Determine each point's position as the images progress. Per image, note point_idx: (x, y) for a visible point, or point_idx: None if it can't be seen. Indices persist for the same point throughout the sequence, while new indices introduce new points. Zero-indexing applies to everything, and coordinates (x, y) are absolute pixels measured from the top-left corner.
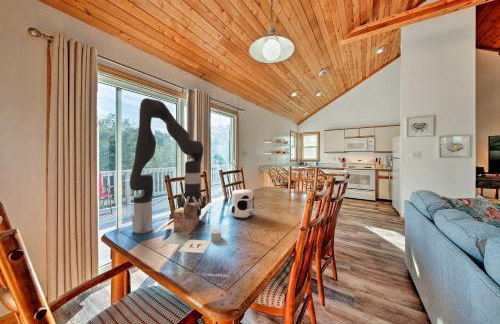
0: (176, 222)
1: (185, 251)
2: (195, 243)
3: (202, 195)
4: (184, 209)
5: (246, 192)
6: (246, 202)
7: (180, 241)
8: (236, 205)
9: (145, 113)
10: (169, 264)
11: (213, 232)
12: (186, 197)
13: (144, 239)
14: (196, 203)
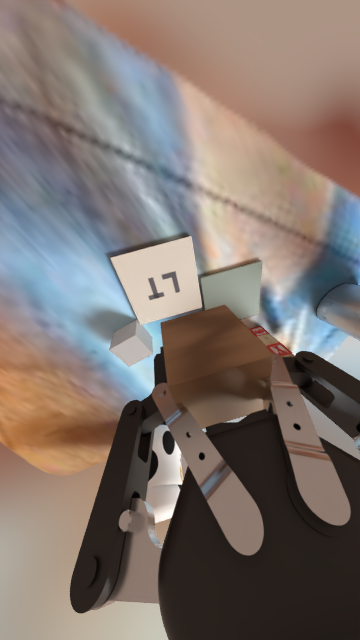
0: (270, 343)
1: (168, 243)
2: (171, 296)
3: (144, 597)
4: None
5: None
6: None
7: (217, 289)
8: (159, 458)
9: None
10: (168, 146)
11: (133, 343)
12: (343, 473)
13: (316, 265)
14: (181, 428)
